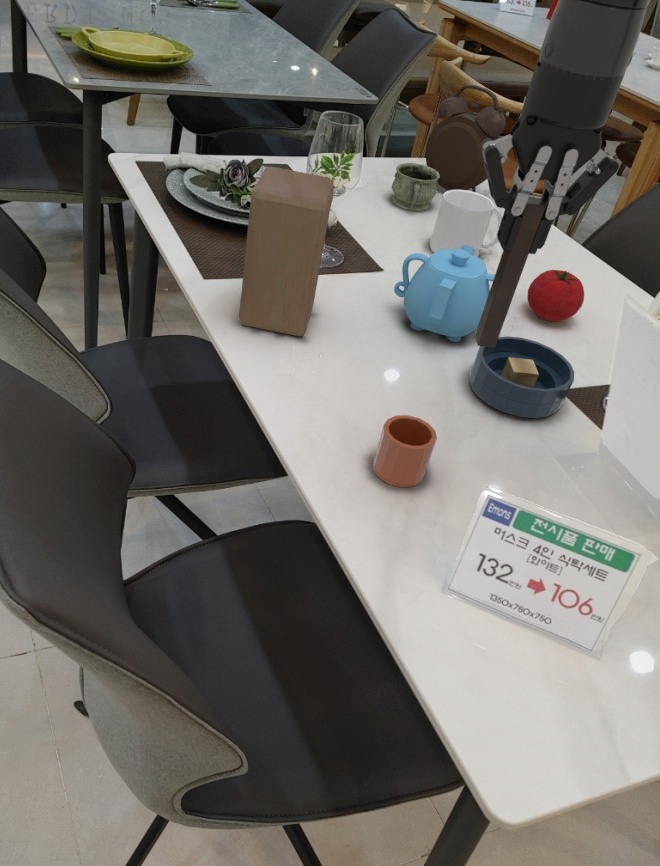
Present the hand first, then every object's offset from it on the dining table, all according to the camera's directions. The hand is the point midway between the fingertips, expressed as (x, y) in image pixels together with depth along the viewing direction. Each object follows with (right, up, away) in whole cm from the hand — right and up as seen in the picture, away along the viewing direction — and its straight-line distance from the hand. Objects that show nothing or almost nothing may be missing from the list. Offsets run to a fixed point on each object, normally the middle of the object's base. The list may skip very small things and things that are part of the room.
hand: (517, 248), depth 79 cm
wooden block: (-25, +2, +37) cm, 44 cm away
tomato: (+20, +5, +48) cm, 52 cm away
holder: (-10, -22, +14) cm, 28 cm away
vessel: (+2, +35, +75) cm, 82 cm away
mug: (+9, +20, +61) cm, 65 cm away
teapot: (+1, +3, +42) cm, 42 cm away
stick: (-1, -8, +8) cm, 11 cm away
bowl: (+9, -10, +30) cm, 33 cm away
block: (+9, -9, +30) cm, 32 cm away
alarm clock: (+12, +40, +82) cm, 92 cm away
